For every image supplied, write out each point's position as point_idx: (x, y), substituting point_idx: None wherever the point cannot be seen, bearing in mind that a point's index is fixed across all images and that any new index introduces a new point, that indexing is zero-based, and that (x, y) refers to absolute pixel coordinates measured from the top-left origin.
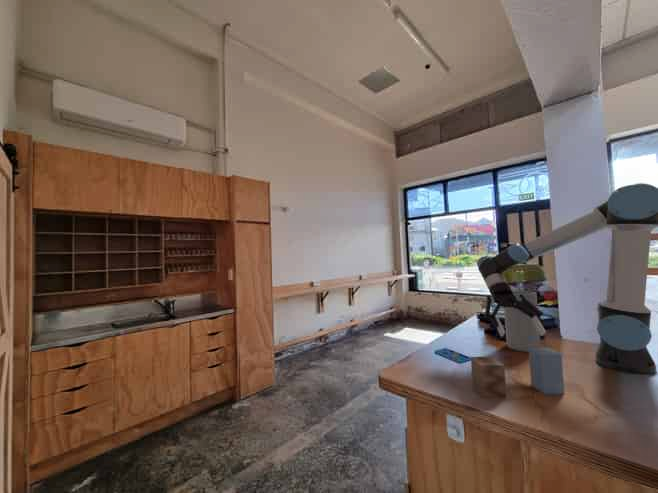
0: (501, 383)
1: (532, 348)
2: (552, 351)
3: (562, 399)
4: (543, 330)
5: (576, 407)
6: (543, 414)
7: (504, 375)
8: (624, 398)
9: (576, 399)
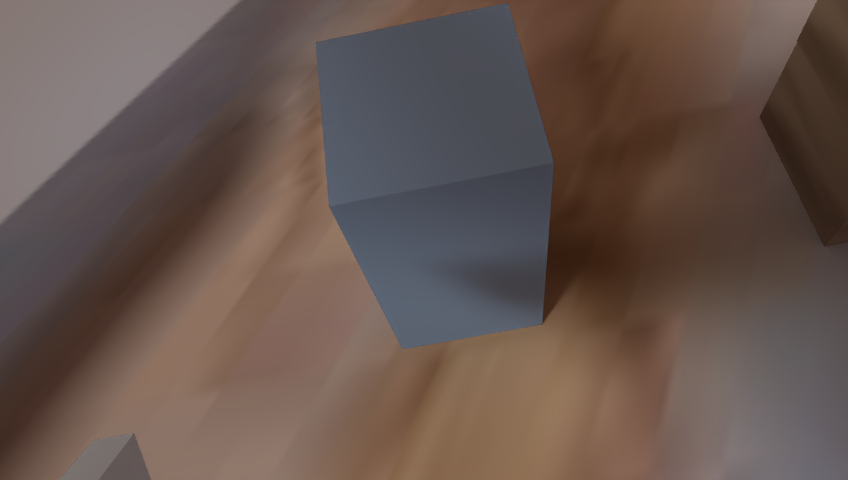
0: None
1: (512, 158)
2: (346, 105)
3: None
4: (109, 452)
5: None
6: (604, 10)
7: (818, 3)
8: (100, 233)
9: None
